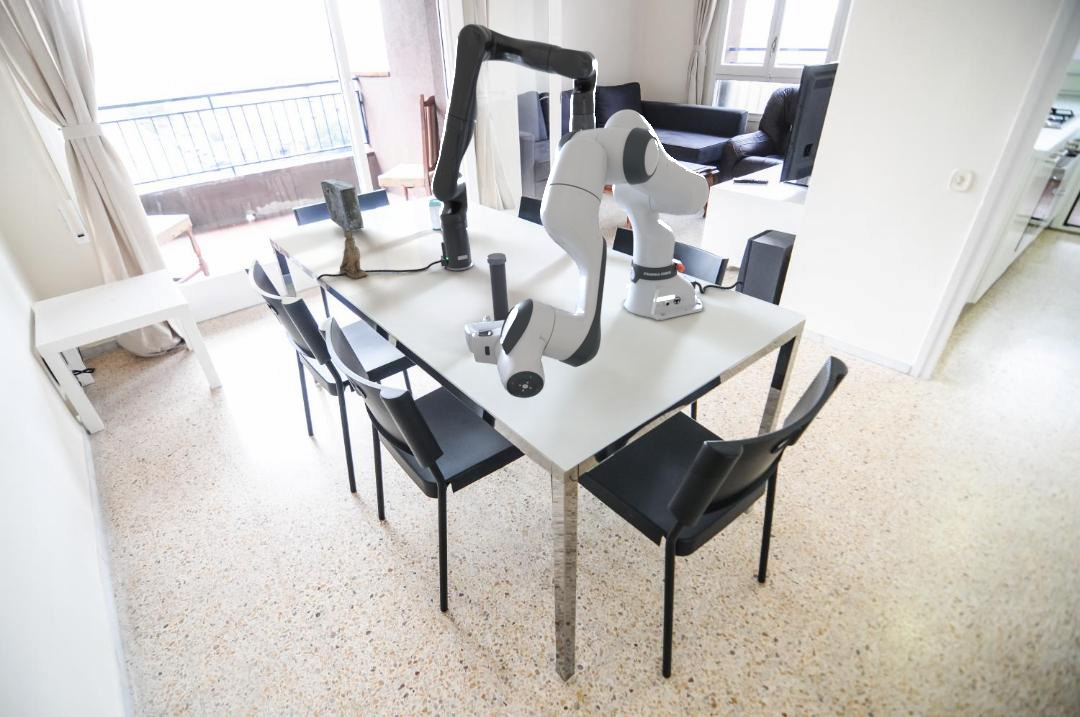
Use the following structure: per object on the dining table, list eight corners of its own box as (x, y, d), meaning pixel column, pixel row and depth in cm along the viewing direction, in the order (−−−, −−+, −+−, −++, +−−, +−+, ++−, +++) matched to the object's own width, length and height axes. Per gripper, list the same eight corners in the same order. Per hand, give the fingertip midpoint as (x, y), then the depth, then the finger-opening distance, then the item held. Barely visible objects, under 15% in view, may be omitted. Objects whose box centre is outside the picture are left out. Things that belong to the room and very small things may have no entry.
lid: (483, 263, 132) (483, 257, 131) (495, 257, 135) (494, 251, 134) (498, 266, 129) (498, 260, 129) (509, 260, 133) (509, 254, 132)
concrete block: (369, 233, 219) (358, 186, 208) (349, 237, 215) (337, 190, 204) (349, 220, 237) (339, 177, 227) (331, 224, 233) (319, 180, 223)
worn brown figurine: (368, 281, 178) (362, 235, 166) (353, 285, 175) (347, 238, 163) (352, 266, 184) (346, 221, 172) (338, 270, 181) (331, 224, 169)
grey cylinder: (491, 323, 141) (485, 258, 131) (500, 318, 144) (494, 253, 134) (503, 327, 139) (498, 261, 129) (512, 321, 142) (507, 256, 132)
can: (445, 229, 220) (441, 202, 214) (429, 230, 220) (425, 202, 214) (447, 224, 226) (444, 198, 220) (432, 225, 226) (428, 198, 220)
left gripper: (574, 127, 153) (574, 181, 162) (564, 133, 142) (565, 192, 150) (598, 127, 152) (597, 182, 160) (590, 133, 140) (589, 192, 148)
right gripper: (562, 327, 105) (550, 300, 117) (465, 337, 102) (462, 309, 114) (562, 352, 108) (550, 324, 120) (468, 363, 105) (465, 333, 117)
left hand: (581, 186), depth 155 cm, fingers open, 8 cm apart
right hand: (506, 317), depth 117 cm, fingers open, 8 cm apart
